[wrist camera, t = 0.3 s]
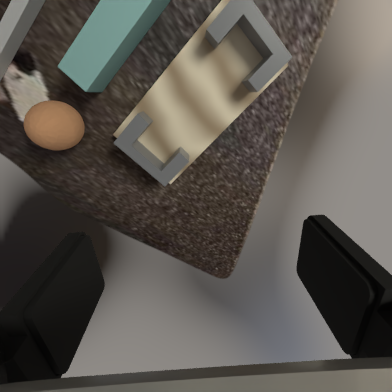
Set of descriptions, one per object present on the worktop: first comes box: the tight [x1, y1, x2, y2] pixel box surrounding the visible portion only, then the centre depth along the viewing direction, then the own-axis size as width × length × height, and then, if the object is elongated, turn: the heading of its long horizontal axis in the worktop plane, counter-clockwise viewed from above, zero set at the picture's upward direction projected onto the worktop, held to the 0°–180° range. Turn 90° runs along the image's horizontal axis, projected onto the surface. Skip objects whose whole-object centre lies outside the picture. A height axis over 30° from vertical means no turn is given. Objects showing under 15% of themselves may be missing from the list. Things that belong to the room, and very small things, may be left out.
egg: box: [24, 100, 85, 150], centre depth 31 cm, size 7×7×9 cm
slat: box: [58, 0, 171, 92], centre depth 28 cm, size 18×4×6 cm, turn 135°
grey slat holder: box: [114, 0, 292, 186], centre depth 31 cm, size 24×10×4 cm, turn 136°
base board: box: [113, 0, 288, 184], centre depth 34 cm, size 25×12×2 cm, turn 136°
